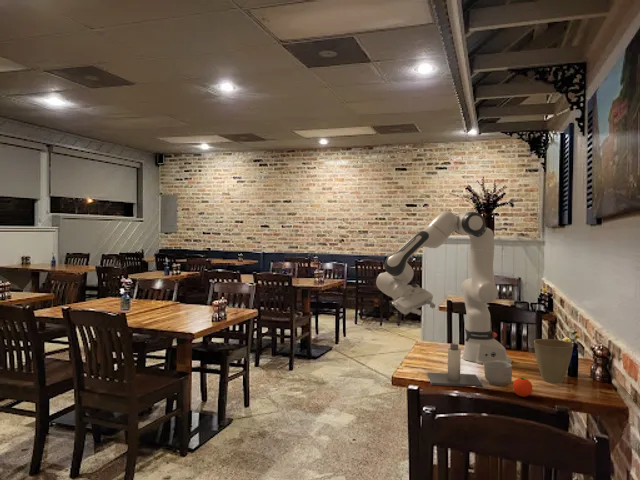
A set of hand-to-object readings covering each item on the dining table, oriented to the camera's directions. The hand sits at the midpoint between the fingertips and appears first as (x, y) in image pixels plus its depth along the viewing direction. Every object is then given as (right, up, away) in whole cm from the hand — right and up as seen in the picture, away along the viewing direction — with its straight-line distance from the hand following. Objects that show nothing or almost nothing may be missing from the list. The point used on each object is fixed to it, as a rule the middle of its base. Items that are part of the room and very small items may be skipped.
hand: (427, 310), depth 218 cm
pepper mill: (+7, -26, -16) cm, 31 cm away
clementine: (+29, -28, -33) cm, 52 cm away
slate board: (+7, -27, -16) cm, 32 cm away
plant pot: (+49, -28, -14) cm, 58 cm away
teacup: (+25, -27, -17) cm, 41 cm away
